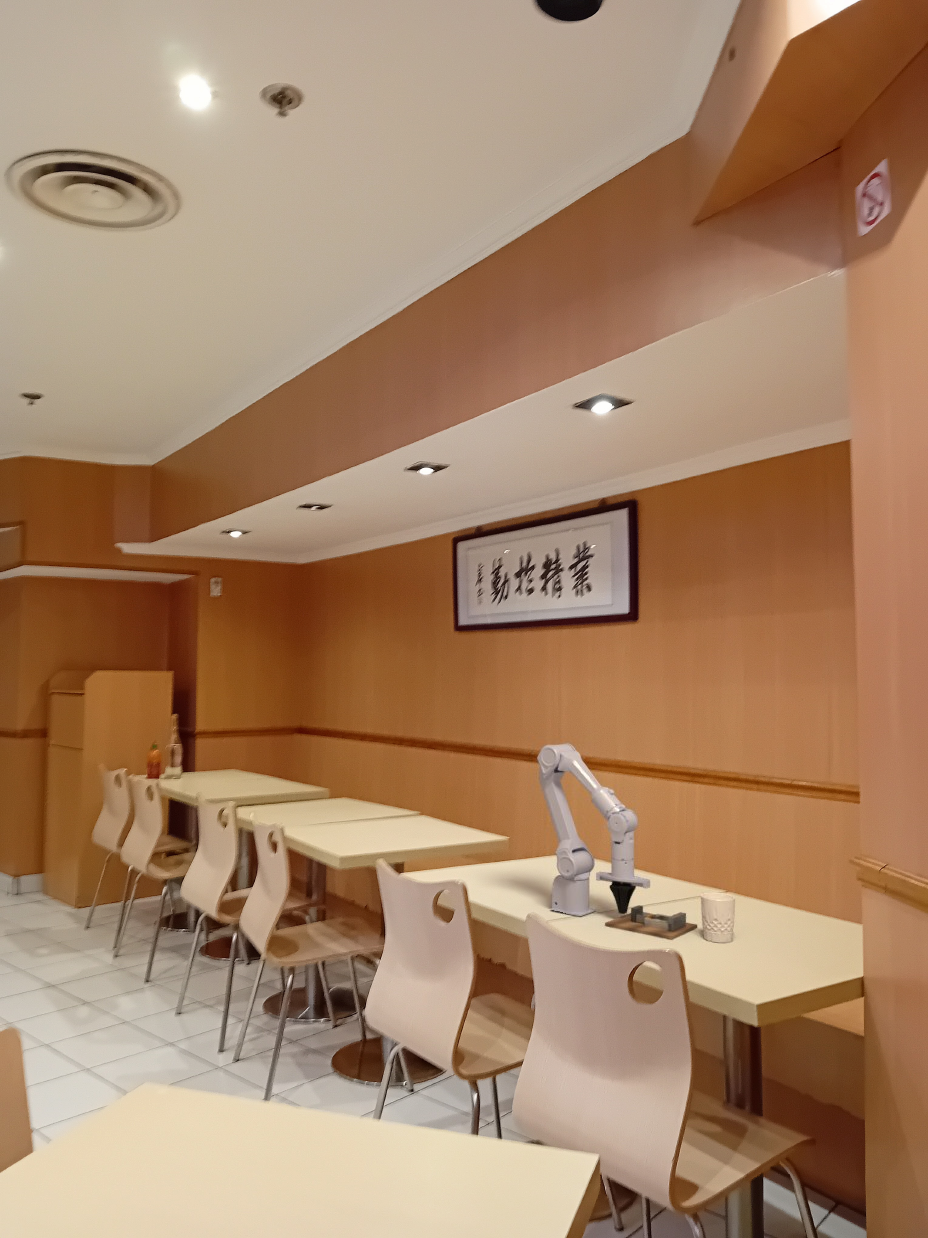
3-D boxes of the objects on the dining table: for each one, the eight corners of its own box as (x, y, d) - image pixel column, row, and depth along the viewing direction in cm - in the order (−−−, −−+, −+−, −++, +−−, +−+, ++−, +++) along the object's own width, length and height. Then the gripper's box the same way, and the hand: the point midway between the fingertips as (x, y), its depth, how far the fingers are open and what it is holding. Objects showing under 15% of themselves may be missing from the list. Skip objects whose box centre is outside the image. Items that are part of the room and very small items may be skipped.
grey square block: (627, 922, 224) (627, 909, 224) (638, 918, 229) (638, 905, 229) (649, 927, 220) (649, 914, 220) (661, 922, 225) (661, 909, 225)
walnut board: (605, 926, 224) (605, 922, 224) (632, 915, 235) (632, 912, 235) (671, 940, 213) (671, 936, 213) (697, 928, 224) (697, 924, 224)
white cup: (736, 945, 209) (736, 901, 210) (701, 942, 211) (701, 899, 212) (733, 936, 217) (733, 893, 218) (700, 933, 219) (699, 891, 219)
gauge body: (644, 926, 221) (644, 913, 222) (657, 921, 227) (657, 908, 227) (673, 932, 217) (673, 918, 217) (686, 926, 222) (686, 913, 222)
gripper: (655, 860, 229) (656, 914, 228) (605, 853, 238) (605, 905, 237) (642, 864, 223) (642, 920, 222) (591, 856, 232) (591, 910, 231)
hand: (622, 913), depth 229 cm, fingers closed
